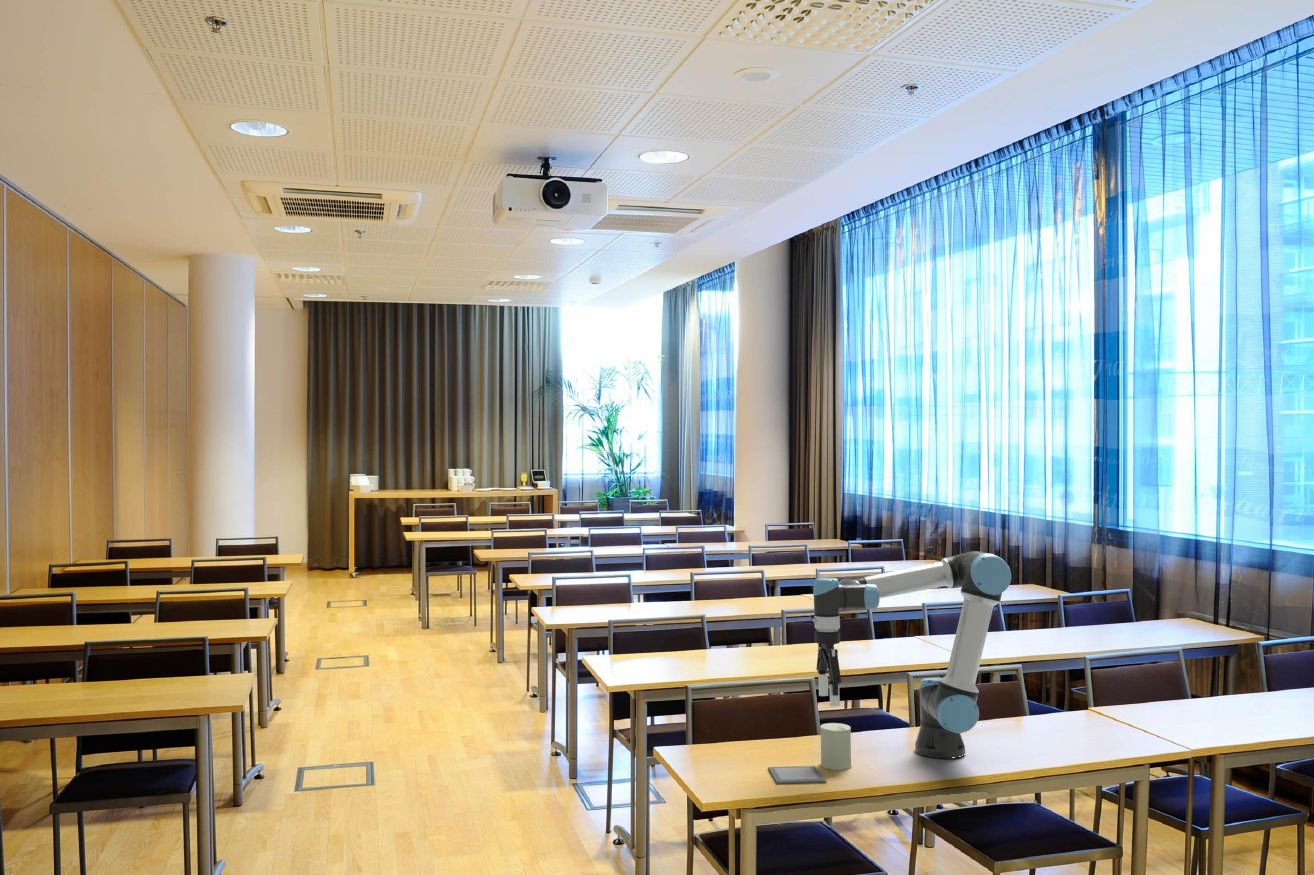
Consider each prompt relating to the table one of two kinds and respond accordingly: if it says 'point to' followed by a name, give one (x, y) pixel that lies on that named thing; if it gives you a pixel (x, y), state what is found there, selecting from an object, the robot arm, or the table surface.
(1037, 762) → the table surface
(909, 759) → the table surface
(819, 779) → the coaster
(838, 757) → the can
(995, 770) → the table surface
